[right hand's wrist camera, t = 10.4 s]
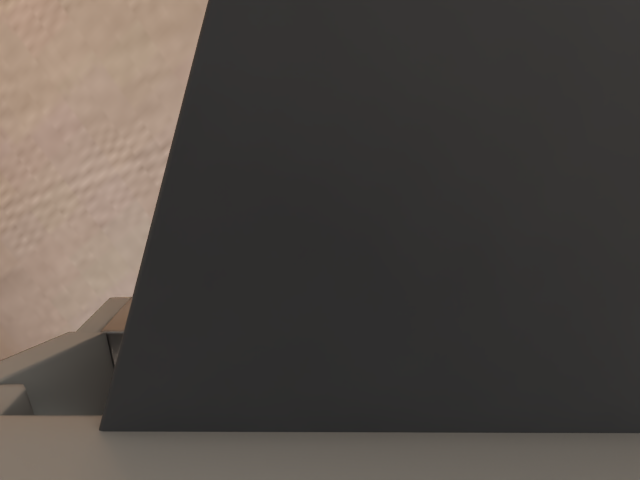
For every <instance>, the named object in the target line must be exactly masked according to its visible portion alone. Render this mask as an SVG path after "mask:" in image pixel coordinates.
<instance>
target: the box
mask: <svg viewBox="0 0 640 480" xmlns="http://www.w3.org/2000/svg"><path fill="white" fill-rule="evenodd" d="M99 431H109V432H413V433H640V0H208V4H207V8H206V12H205V16H204V20H203V24H202V28H201V32H200V36H199V39H198V43H197V47H196V51H195V55H194V59H193V63H192V67H191V71H190V75H189V79H188V82H187V86H186V90H185V94H184V98H183V102H182V106H181V110H180V114H179V118H178V122H177V125H176V129H175V133H174V137H173V141H172V145H171V149H170V153H169V157H168V161H167V165H166V168H165V172H164V176H163V180H162V184H161V188H160V192H159V196H158V200H157V204H156V207H155V211H154V215H153V219H152V223H151V227H150V231H149V235H148V239H147V243H146V247H145V250H144V254H143V258H142V262H141V266H140V270H139V274H138V278H137V282H136V286H135V290H134V293H133V297H132V301H131V305H130V309H129V313H128V317H127V321H126V325H125V329H124V333H123V336H122V340H121V344H120V348H119V352H118V356H117V360H116V364H115V368H114V372H113V376H112V379H111V383H110V387H109V391H108V395H107V399H106V403H105V407H104V411H103V415H102V418H101V422H100V426H99Z"/></svg>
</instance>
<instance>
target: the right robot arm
mask: <svg viewBox="0 0 640 480" xmlns="http://www.w3.org/2000/svg"><path fill="white" fill-rule="evenodd" d="M131 301H132V297H115V298H110V299H108V300H107V301H106V302H105V303H104V304H103V305H102V306H101V307H100V308H99V309H98V310H97V311H96V312H95V313H94V314H93V315H92V316H91V317H90V318H89V319H88V320H87V321H86V322H85V323H84V324H83V325H82V326H81V327H80V328H79V329H78V330H77V331H76V332H68V333H65V334H63V335H61V336H58V337H56V338H54V339H51V340H49V341H46V342H44V343H42V344H39V345H37V346H35V347H32V348H30V349H27V350H25V351H23V352H20V353H18V354H15V355H13V356H11V357H8V358H6V359H4V360H1V361H0V480H640V433H413V432H109V431H99V426H100V422H101V418H102V415H103V411H104V407H105V403H106V399H107V395H108V391H109V387H110V383H111V379H112V376H113V372H114V368H115V364H116V360H117V356H118V352H119V348H120V344H121V340H122V336H123V333H124V329H125V325H126V321H127V317H128V313H129V309H130V305H131Z"/></svg>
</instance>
